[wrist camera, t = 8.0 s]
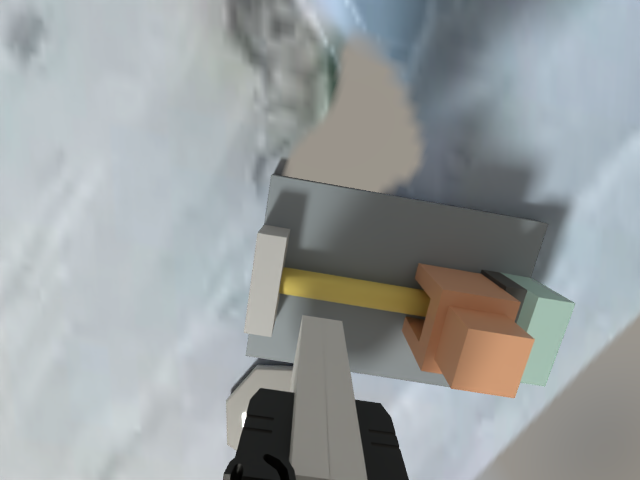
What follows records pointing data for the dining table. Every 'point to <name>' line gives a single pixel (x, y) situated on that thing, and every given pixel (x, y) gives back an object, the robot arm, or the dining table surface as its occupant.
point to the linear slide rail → (386, 273)
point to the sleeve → (469, 332)
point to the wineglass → (239, 399)
